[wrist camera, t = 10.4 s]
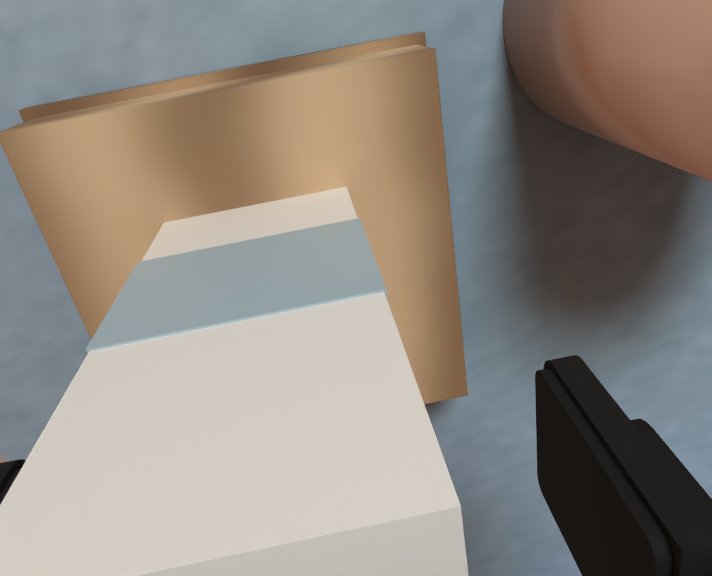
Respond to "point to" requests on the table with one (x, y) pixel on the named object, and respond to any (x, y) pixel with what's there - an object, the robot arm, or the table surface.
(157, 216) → the plinth
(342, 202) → the slim carton
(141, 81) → the table surface
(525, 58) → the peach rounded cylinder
